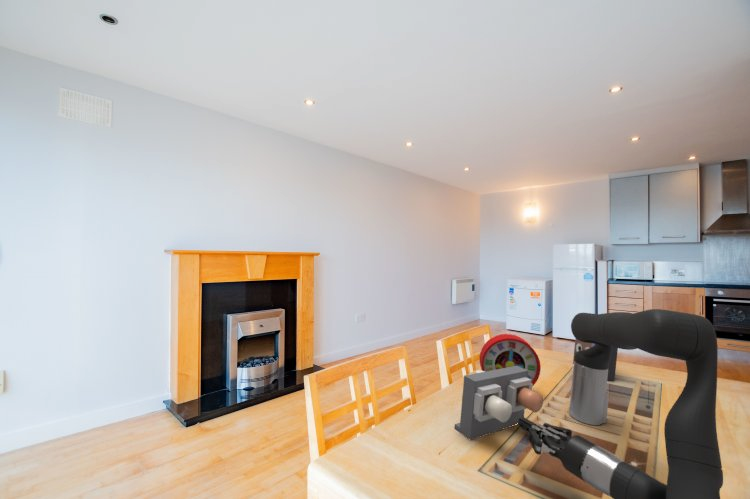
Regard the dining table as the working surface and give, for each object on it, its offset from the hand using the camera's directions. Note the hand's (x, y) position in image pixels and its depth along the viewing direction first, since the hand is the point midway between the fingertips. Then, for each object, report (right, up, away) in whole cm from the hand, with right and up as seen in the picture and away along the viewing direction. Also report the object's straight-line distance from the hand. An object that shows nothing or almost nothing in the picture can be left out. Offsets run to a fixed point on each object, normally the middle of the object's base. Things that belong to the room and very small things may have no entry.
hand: (520, 421), depth 84 cm
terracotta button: (+8, -2, +12) cm, 15 cm away
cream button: (-4, -2, +6) cm, 7 cm away
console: (-2, -9, +15) cm, 18 cm away
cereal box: (+59, -12, +66) cm, 89 cm away
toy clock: (+12, -9, +41) cm, 44 cm away
